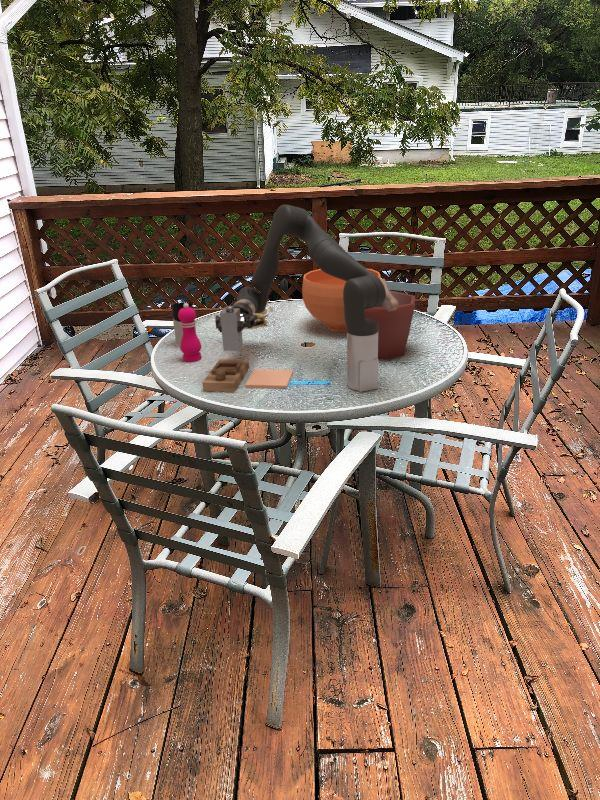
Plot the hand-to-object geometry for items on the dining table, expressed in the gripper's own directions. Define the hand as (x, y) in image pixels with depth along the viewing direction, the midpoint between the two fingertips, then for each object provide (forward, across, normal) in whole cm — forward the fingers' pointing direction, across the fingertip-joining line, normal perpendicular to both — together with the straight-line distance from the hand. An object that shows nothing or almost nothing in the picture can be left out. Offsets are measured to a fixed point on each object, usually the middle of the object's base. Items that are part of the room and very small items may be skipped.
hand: (229, 329), depth 191 cm
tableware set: (-70, -9, +18) cm, 73 cm away
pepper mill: (-21, -20, +18) cm, 34 cm away
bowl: (-57, +29, +18) cm, 67 cm away
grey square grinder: (-3, 0, +7) cm, 7 cm away
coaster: (-3, +11, +18) cm, 21 cm away
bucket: (-30, +45, +18) cm, 57 cm away
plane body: (-3, -3, +18) cm, 18 cm away
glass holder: (-34, -25, +18) cm, 46 cm away
